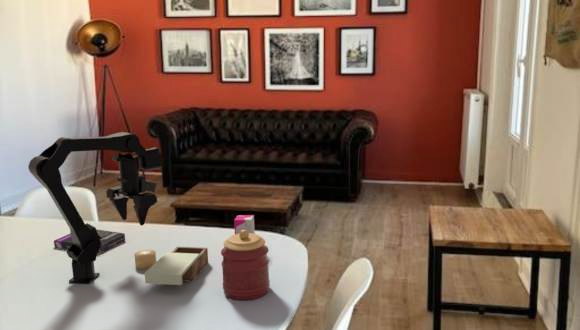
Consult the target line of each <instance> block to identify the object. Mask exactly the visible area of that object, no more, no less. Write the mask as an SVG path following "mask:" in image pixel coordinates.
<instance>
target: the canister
mask: <svg viewBox="0 0 580 330" xmlns="http://www.w3.org/2000/svg"><path fill="white" fill-rule="evenodd" d="M223 246H224V247H223V248H222V249H221V250H220V254H221V256H222V261H221V268H222V269H221V270H222V289H223V293H224V295H225V296H226V297H228V298H230V299H233V300H238V301H248V300H249V301H250V300H251V301H252V300H255V299H258V298H259V299H260V298H262V297H263V296H265V295H266V294H268V293H269V291H270V285H271V283H270V282H271V281H270V273H269V270H270V269H269V263H270V258H268V253H269V250H270V249H269V247H268V246H267V245H266V240H265V239H264V238H263V237H261V236H259V234H257V233H255V234H252V233H248V231H247V230H241V231H240V233H239V234H236V235H235V234H234V235H233V234H232V235H231V236H229V237H228V238H227V239H225V240H224V241H223Z"/></svg>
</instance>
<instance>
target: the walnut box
mask: <svg viewBox="0 0 580 330" xmlns="http://www.w3.org/2000/svg"><path fill="white" fill-rule="evenodd" d="M170 253H194V254H200V256H199V258H198V259H197V260H196V261H195V262H194V263H193V264H192V265H191V267H190V268H189V269H188V270H187V271H186V272H185V273H184V274H183V276H182V282H194V281H195V280H196V278H197V277H198V276H199V275H200V274H201V272H203V270H204V269H205V267H206V266H207V265H209V251H208V248H207V247H199V246H198V247H197V246H196V247H195V246H193V247H191V246H176V247H175V248H173V250H172V251H170Z"/></svg>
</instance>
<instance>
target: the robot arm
mask: <svg viewBox="0 0 580 330" xmlns="http://www.w3.org/2000/svg"><path fill="white" fill-rule="evenodd" d="M91 151H92V152H93V151H114V152H115V151H116V153H115V154H114V155H113V156H112V157H111V160H112V161H114V162H117V163H118V166H119V176H118V177H117V178H116V179H117V182H119V183H120V185H118V186H114V187H109V188H107V190H106V198H108V199H109V201H110V202H111V203H112V205H113V206H114V207H115V209H116V211H117V212H118V214H119V216H120V217H121V219H122V221H126V220H127V218H128V202H129V200H130V199H131V200H133V204H134V205H133V209H134V212H135V215H136V218H137V221H138V223H139V225H140V226H141V227H142V226H144V225H145V223H146V220H147V215H148V212H149V210H150V209H151V207H152V206H154V205H155V204H157V203H158V195H156V194H155V193H156V189H157V182H154V181H149V180H147V179H146V177H145V176H143V175H140V169H141V171H142V172H147V171H148V172H149V171H153V170H160V169H162V168H163V166H164V158H163V156H162V153H161V152H160V148H159V147H156V146H155V147H151V148H145V147H144V146H143V145H142V144H141V142H140V138H139V137H138V135H137V134H135V133H132V132H131V133H129V132H125V131H120V132H116V133H112V134H109V135H106V136H89V137H85V136H84V137H65V136H63V137H59V138H57V139H56V140H55V141H54V142H53V143H52V144H51V145H49V147H47V148H46V149H44V150H43V151H42V152H41V153H40V154H39V155H37V156H33V158H31V159H30V161H29V163H28V171H29V173H30V174H31V175H32V176H33V178H35V179H36V180H37V181H38V182H39V183H40V184H41V186H43V188H45V190H47V192H48V195H50V197H51V199H52V201H53V203H54V204H55V206H56V208H57V210H58V211H59V213H60V214H61V216H62V217H63V219H64V221H65V222H66V224H67V226H68V228H69V231H70V233H71V238H72V241H73V244H72V245H71V246H70V248H69V249H66V254H67V256H68V258H69V259H71V269H72V277H71V278H70V279H69V280H68V282H69V283H75V284H76V283H77V284H90V283H91V282H93V281H94V280H95V279H96V278H97V277H98V276H100V273H99V272H95V261H97V257H98V254H97V253H98V251H99V250H100V247H101V241H100V239H102V238H101V237H100V236H99V235H98V233H97V230H98V229H97V230H96V227H95V226H94V225H92V224H90V223H88V222H87V223H85V222H84V220H83V218H82V216H81V215H80V213H79V211H78V210H77V207H76V206H75V204H74V202H73V201H72V198H71V197H70V195H69V194H68V191H67V190H66V188H65V186H64V185H63V181H62V175H61V172H60V168H61V167H62V166H63V165H64V163H65V161H66V160H67V158H68V157H69V155H70V154H72V152H91ZM121 152H122V153H123V154H122V153H121ZM133 154H134V155H133Z"/></svg>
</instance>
